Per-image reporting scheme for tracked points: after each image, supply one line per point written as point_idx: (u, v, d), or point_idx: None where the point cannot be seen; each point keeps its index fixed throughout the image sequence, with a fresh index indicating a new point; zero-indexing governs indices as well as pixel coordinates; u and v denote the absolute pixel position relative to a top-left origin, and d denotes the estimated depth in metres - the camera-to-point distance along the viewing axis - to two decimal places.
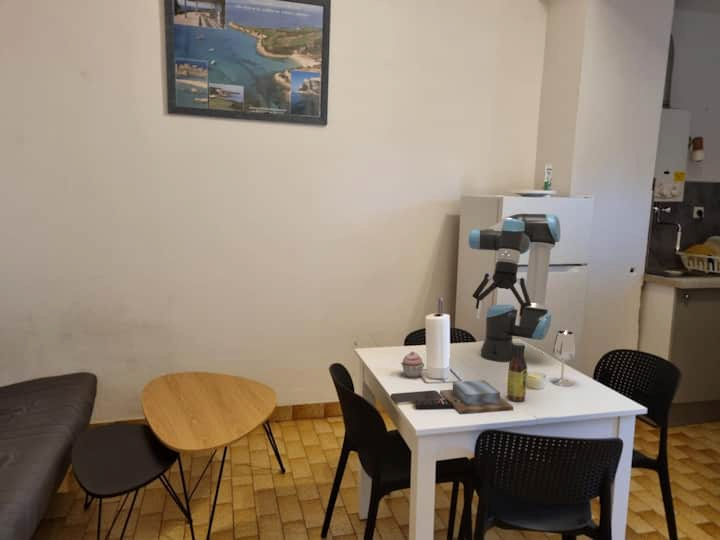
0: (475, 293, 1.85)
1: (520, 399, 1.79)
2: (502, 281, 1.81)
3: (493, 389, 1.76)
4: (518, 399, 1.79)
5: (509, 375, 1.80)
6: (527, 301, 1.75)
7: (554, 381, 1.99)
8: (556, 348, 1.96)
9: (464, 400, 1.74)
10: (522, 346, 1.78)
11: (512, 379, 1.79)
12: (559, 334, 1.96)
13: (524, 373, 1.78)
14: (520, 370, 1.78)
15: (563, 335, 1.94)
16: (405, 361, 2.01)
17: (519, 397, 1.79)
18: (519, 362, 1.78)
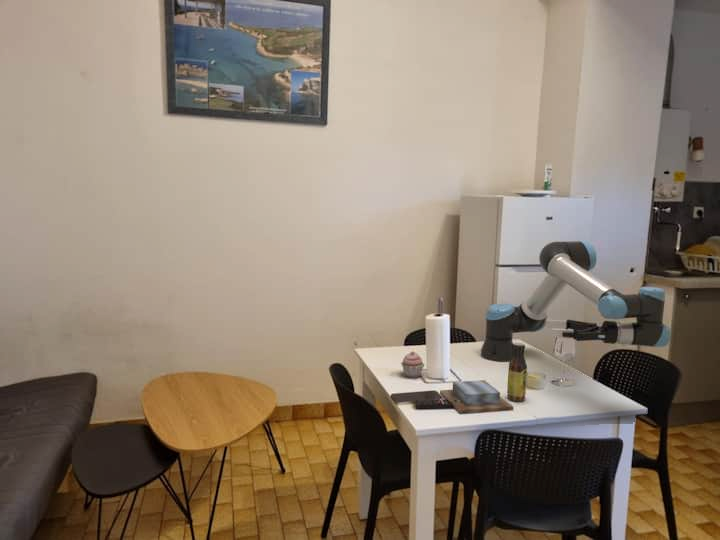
0: None
1: (520, 399, 1.79)
2: None
3: (493, 389, 1.76)
4: (518, 399, 1.79)
5: (509, 375, 1.80)
6: None
7: (554, 381, 1.99)
8: (556, 348, 1.96)
9: (464, 400, 1.74)
10: (522, 346, 1.78)
11: (512, 379, 1.79)
12: None
13: (524, 373, 1.78)
14: (520, 370, 1.78)
15: None
16: (405, 361, 2.01)
17: (519, 397, 1.79)
18: (519, 362, 1.78)
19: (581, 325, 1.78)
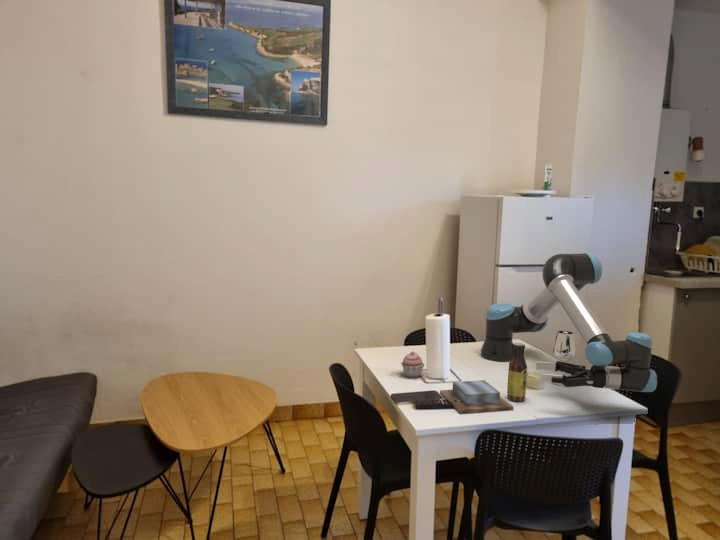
0: None
1: (520, 399, 1.79)
2: None
3: (493, 389, 1.76)
4: (518, 399, 1.79)
5: (509, 375, 1.80)
6: None
7: None
8: (556, 348, 1.96)
9: (464, 400, 1.74)
10: (522, 346, 1.78)
11: (512, 379, 1.79)
12: (559, 334, 1.96)
13: (524, 373, 1.78)
14: (520, 370, 1.78)
15: (563, 335, 1.94)
16: (405, 361, 2.01)
17: (519, 397, 1.79)
18: (519, 362, 1.78)
19: (570, 368, 1.80)
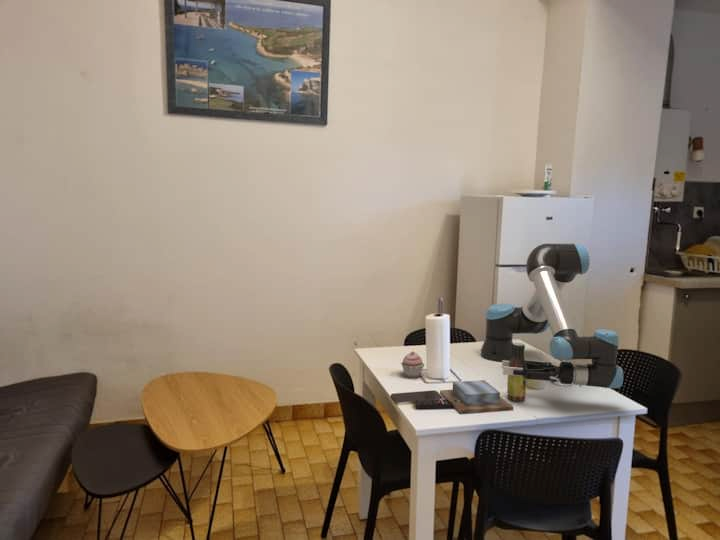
0: None
1: (520, 399, 1.79)
2: None
3: (493, 389, 1.76)
4: (518, 399, 1.79)
5: (509, 375, 1.80)
6: None
7: None
8: None
9: (464, 400, 1.74)
10: (522, 346, 1.78)
11: (512, 379, 1.79)
12: None
13: None
14: None
15: None
16: (405, 361, 2.01)
17: (519, 397, 1.79)
18: (519, 362, 1.78)
19: (538, 366, 1.81)
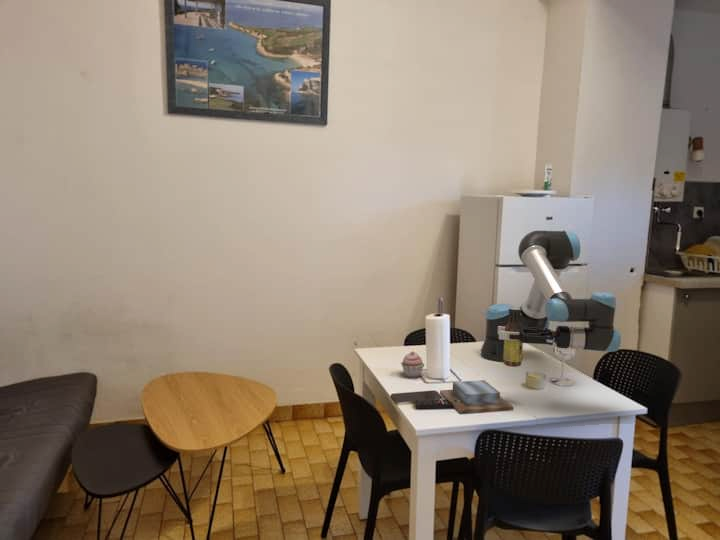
0: None
1: (516, 364, 1.76)
2: None
3: (493, 389, 1.76)
4: (514, 364, 1.76)
5: (505, 340, 1.77)
6: None
7: (554, 381, 1.99)
8: (556, 348, 1.96)
9: (464, 400, 1.74)
10: (518, 310, 1.75)
11: (508, 344, 1.76)
12: None
13: None
14: None
15: None
16: (405, 361, 2.01)
17: (515, 362, 1.76)
18: (515, 326, 1.75)
19: (534, 331, 1.78)
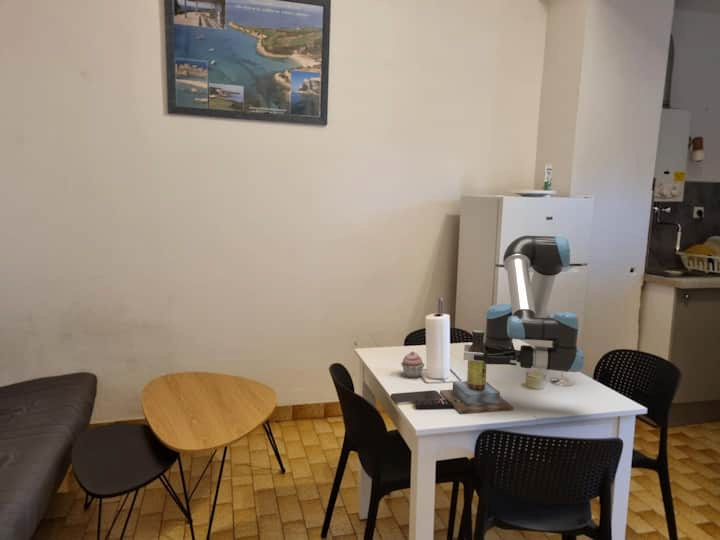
0: None
1: (480, 387, 1.75)
2: None
3: (493, 389, 1.76)
4: (478, 387, 1.75)
5: (468, 363, 1.76)
6: None
7: (554, 381, 1.99)
8: None
9: (464, 400, 1.74)
10: (481, 333, 1.74)
11: (471, 367, 1.75)
12: None
13: (483, 361, 1.74)
14: None
15: None
16: (405, 361, 2.01)
17: (478, 385, 1.75)
18: (478, 349, 1.74)
19: (499, 349, 1.78)
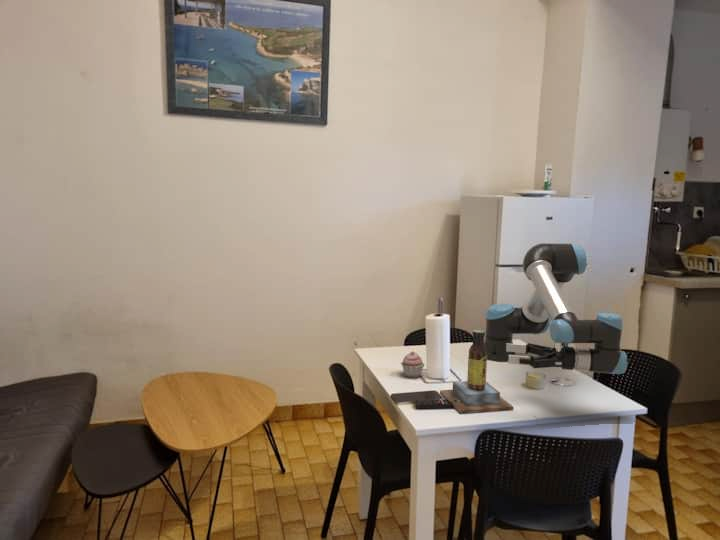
0: None
1: (480, 387, 1.75)
2: None
3: (493, 389, 1.76)
4: (478, 387, 1.75)
5: (469, 363, 1.76)
6: None
7: (554, 381, 1.99)
8: (556, 348, 1.96)
9: (464, 400, 1.74)
10: (481, 333, 1.74)
11: (471, 367, 1.75)
12: None
13: (484, 361, 1.74)
14: (480, 358, 1.74)
15: None
16: (405, 361, 2.01)
17: (479, 385, 1.75)
18: (478, 349, 1.74)
19: (540, 350, 1.76)
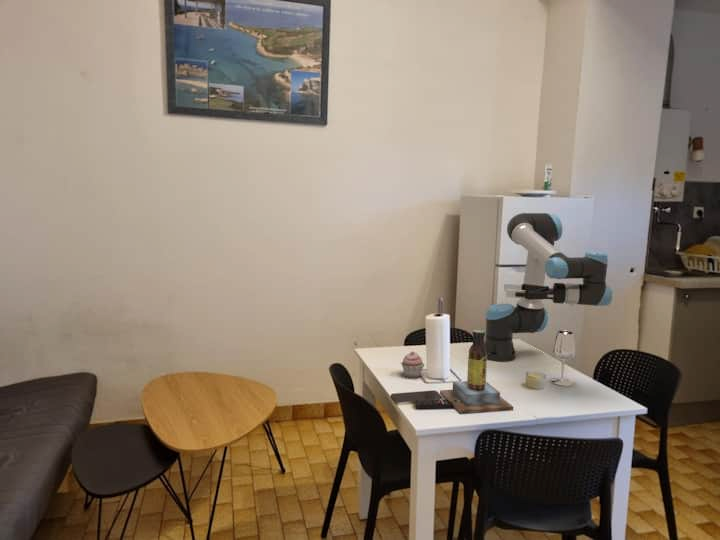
0: None
1: (480, 387, 1.75)
2: None
3: (493, 389, 1.76)
4: (478, 387, 1.75)
5: (469, 363, 1.76)
6: None
7: (554, 381, 1.99)
8: (556, 348, 1.96)
9: (464, 400, 1.74)
10: (481, 333, 1.74)
11: (471, 367, 1.75)
12: (559, 334, 1.96)
13: (484, 361, 1.74)
14: (480, 358, 1.74)
15: (563, 335, 1.94)
16: (405, 361, 2.01)
17: (479, 385, 1.75)
18: (478, 349, 1.74)
19: (534, 288, 1.95)
